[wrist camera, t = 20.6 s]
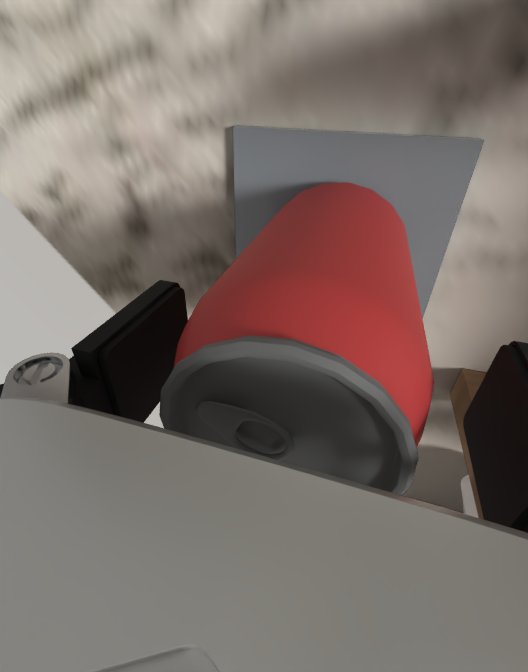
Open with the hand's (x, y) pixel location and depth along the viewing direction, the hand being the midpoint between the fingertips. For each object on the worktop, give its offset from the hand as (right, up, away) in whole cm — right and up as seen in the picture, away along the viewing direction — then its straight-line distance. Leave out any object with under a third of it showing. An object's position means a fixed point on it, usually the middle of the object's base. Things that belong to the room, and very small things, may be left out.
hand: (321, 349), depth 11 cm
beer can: (+2, +5, +6) cm, 8 cm away
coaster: (+2, +5, +7) cm, 9 cm away
